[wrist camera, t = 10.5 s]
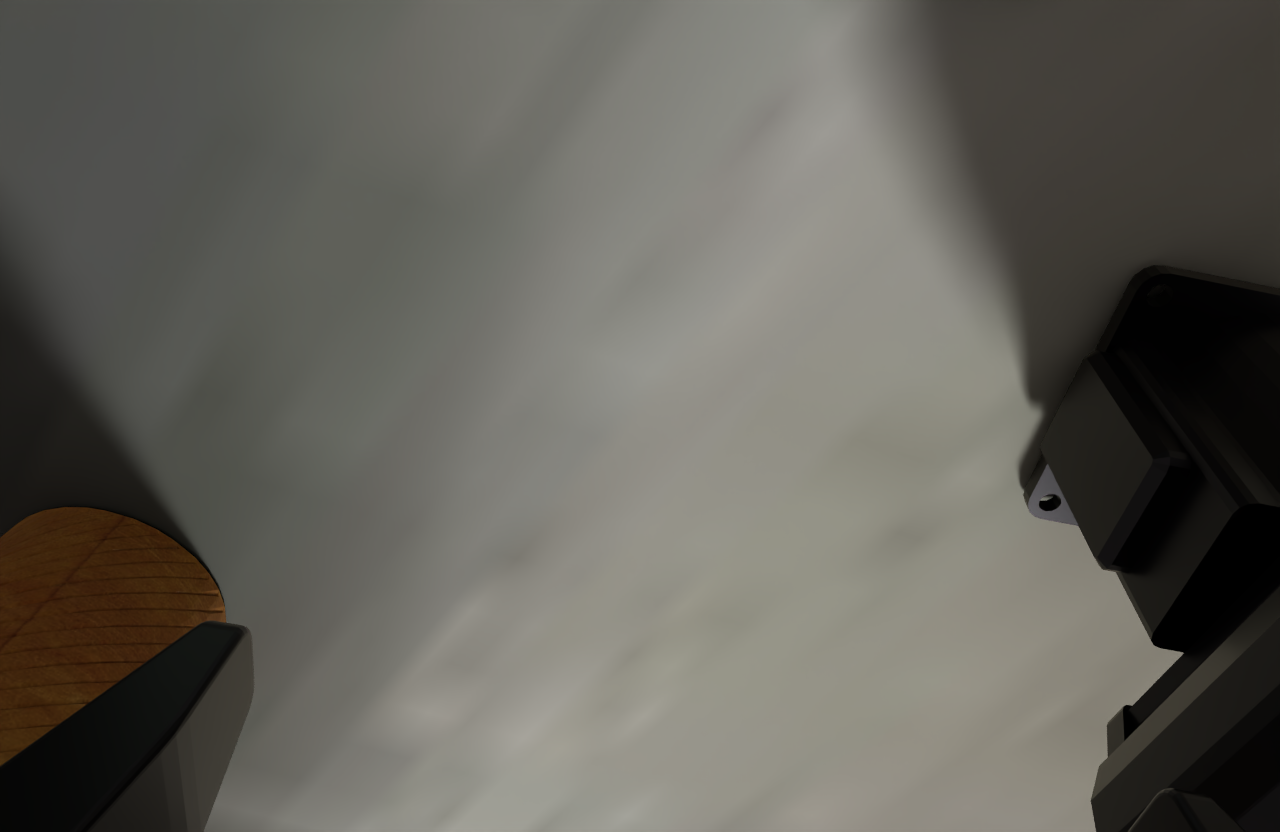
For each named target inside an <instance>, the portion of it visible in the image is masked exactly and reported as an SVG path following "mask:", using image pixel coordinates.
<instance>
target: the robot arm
mask: <svg viewBox="0 0 1280 832" xmlns="http://www.w3.org/2000/svg"><path fill="white" fill-rule="evenodd" d="M1162 284H1166V285H1165V289H1164V291H1163V292H1162V293H1161V294H1160V295H1159V296H1157V297H1155V298H1147V294H1148V292H1149V291H1150V290H1151V289H1152V288H1153V287H1155V286H1157V285H1162ZM1040 449H1041V452H1042V456H1041V458H1040V460H1039V462H1038V464H1037V466H1036V468H1035V470H1034V472H1033V474H1032V476H1031V478H1030V480H1029V482H1028V484H1027V486H1026V488H1025V490H1024V494H1023V496H1024V499H1025V502H1026V505H1027V507H1028V509H1029V511H1030V512H1031V513H1032V514H1033V515H1034V516H1035V517H1038V518H1040V519H1045V520H1050V521H1055V522H1061V523H1066V524H1071V525H1077V526H1079V528H1080V530H1081V532H1082V534H1083V536H1084V538H1085V540H1086V542H1087V544H1088V546H1089V548H1090V550H1091V552H1092V554H1093V556H1094V557H1095V559H1096V561H1097V563H1098V564H1099V566H1100V567H1101V568H1102V569H1103V570H1108V571H1114V572H1116V573H1117V575H1118V577H1119V579H1120V581H1121V583H1122V585H1123V587H1124V589H1125V591H1126V593H1127V595H1128V597H1129V599H1130V601H1131V602H1132V604H1133V606H1134V608H1135V610H1136V612H1137V614H1138V616H1139V618H1140V620H1141V622H1142V624H1143V626H1144V628H1145V630H1146V631H1147V633H1148V635H1149V637H1150V639H1151V641H1152V643H1153V645H1155V646H1157V647H1159V648H1163V649H1168V650H1174V651H1179V652H1183V653H1184V654H1183V655H1182V656H1181V657H1180V658H1179V659H1178V660H1177V661H1176V662H1175V663H1174V664H1173V665H1172V666H1171V667H1170V668H1169V669H1168V670H1167V671H1166V672H1165V673H1164V674H1163V675H1162V676H1161V677H1160V678H1159V679H1158V680H1157V681H1156V682H1155V683H1154V684H1153V686H1152V687H1151V688H1150V689H1149V690H1148V691H1147V692H1146V693H1145V694H1144V695H1143V696H1142V697H1141V698H1140V699H1139V700H1138V701H1137V702H1136V703H1135V704H1134V705H1133V706H1130V705H1126V706H1124V707H1123V708H1122V709H1121V710H1120V711H1119V712H1118V713H1117V714H1116V715H1115V716H1114V717H1113V718H1112V719H1111V720H1110V721H1109V722H1108V724H1107V744H1108V758H1107V759H1106V760H1105V761H1104V762H1103V763H1102V764H1101V765H1100V766H1099V769H1098V773H1097V777H1096V782H1095V786H1094V790H1093V794H1092V798H1091V804H1092V810H1093V816H1094V821H1095V827H1096V832H1280V289H1277V288H1272V287H1267V286H1262V285H1258V284H1253V283H1248V282H1243V281H1238V280H1233V279H1228V278H1223V277H1218V276H1213V275H1208V274H1203V273H1198V272H1193V271H1188V270H1183V269H1178V268H1173V267H1168V266H1151V267H1148V268H1145V269H1143V270H1142V271H1140V272H1139V273H1137V274H1136V275H1135V276H1134V277H1133V279H1132V280H1131V281H1130V283H1129V285H1128V287H1127V289H1126V291H1125V293H1124V295H1123V296H1122V298H1121V300H1120V302H1119V304H1118V306H1117V308H1116V310H1115V312H1114V314H1113V316H1112V318H1111V320H1110V322H1109V324H1108V326H1107V328H1106V330H1105V332H1104V334H1103V336H1102V338H1101V340H1100V342H1099V344H1098V346H1097V348H1096V350H1095V351H1094V352H1092V353H1091V354H1090V355H1088V356H1087V357H1085V358H1084V359H1083V361H1082V363H1081V365H1080V367H1079V369H1078V371H1077V373H1076V375H1075V377H1074V379H1073V381H1072V383H1071V385H1070V387H1069V389H1068V391H1067V393H1066V395H1065V397H1064V399H1063V401H1062V403H1061V405H1060V407H1059V409H1058V411H1057V413H1056V415H1055V417H1054V419H1053V421H1052V423H1051V425H1050V427H1049V429H1048V431H1047V433H1046V435H1045V437H1044V439H1043V441H1042V443H1041V445H1040ZM1048 494H1055V495H1054V497H1053V498H1051V499H1049V500H1047V501H1040V499H1041V498H1042V497H1043V496H1046V495H1048ZM253 693H254V666H253V646H252V635H251V632H250V630H249V629H248V628H247V627H244V626H242V625H236V624H231V623H225V622H219V621H205V622H203V623H200V624H199V625H197V626H195V627H194V628H193V629H191V630H190V631H188V632H187V633H186V634H184V635H183V636H182V637H180V638H179V639H177V640H176V641H175V642H173V643H172V644H170V645H169V646H168V647H166V648H165V649H163V650H162V651H161V652H159V653H158V654H156V655H155V656H154V657H152V658H151V659H149V660H148V661H147V662H145V663H144V664H142V665H141V666H140V667H138V668H137V669H135V670H134V671H133V672H131V673H130V674H128V675H127V676H126V677H124V678H123V679H121V680H120V681H119V682H117V683H116V684H114V685H113V686H112V687H110V688H109V689H107V690H106V691H105V692H103V693H102V694H100V695H99V696H98V697H96V698H95V699H93V700H92V701H91V702H89V703H88V704H86V705H85V706H84V707H82V708H81V709H79V710H78V711H77V712H75V713H74V714H72V715H71V716H70V717H68V718H67V719H65V720H64V721H63V722H61V723H60V724H58V725H57V726H56V727H54V728H53V729H51V730H50V731H49V732H47V733H46V734H44V735H43V736H42V737H40V738H39V739H37V740H36V741H35V742H33V743H32V744H30V745H29V746H28V747H26V748H25V749H23V750H22V751H21V752H19V753H18V754H16V755H15V756H14V757H12V758H11V759H9V760H8V761H7V762H5V763H4V764H3V765H1V766H0V832H203V831H204V829H205V826H206V823H207V821H208V818H209V815H210V813H211V810H212V808H213V805H214V802H215V800H216V797H217V794H218V792H219V789H220V786H221V784H222V781H223V778H224V776H225V773H226V770H227V768H228V765H229V762H230V760H231V757H232V754H233V752H234V749H235V746H236V744H237V741H238V738H239V736H240V733H241V730H242V728H243V725H244V722H245V720H246V717H247V714H248V712H249V709H250V706H251V702H252V698H253Z"/></svg>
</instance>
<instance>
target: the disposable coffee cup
mask: <svg viewBox="0 0 1280 832" xmlns="http://www.w3.org/2000/svg"><path fill="white" fill-rule="evenodd" d="M205 621H219V622H225V623H226V616H225V606H224V603H223V600H222V597H221V594H220V592H219V589H218V587H217V586H216V584H215V583H214V581H213V579H212V578H211V576H210V574H209V573H208V572H207V570H206V569H205V568H204V567H203V566H202V565H201V564H200V563H199V561H198V560H197V559H196V558H195V557H194V556H193V555H192V554H190V553H189V552H188V551H187V550H185V549H184V548H183V547H182V546H180V545H179V544H178V543H177V542H175V541H174V540H173V539H171V538H170V537H168V536H167V535H165V534H163V533H162V532H160V531H159V530H157V529H155V528H153V527H151V526H148V525H146V524H144V523H142V522H140V521H138V520H135V519H133V518H129V517H126V516H123V515H119V514H116V513H112V512H109V511H105V510H99V509H93V508H87V507H62V508H55V509H49V510H43V511H41V512H38V513H36V514H33V515H30V516H28V517H26V518H25V519H23V520H22V521H21V522H19V523H18V524H16V525H15V526H14V527H13V528H11V529H10V530H9V531H8V532H7V533H5V534H4V535H3V536H2V537H0V766H1V765H3V764H4V763H5V762H7V761H8V760H9V759H11V758H12V757H14V756H15V755H16V754H18V753H19V752H21V751H22V750H23V749H25V748H26V747H28V746H29V745H30V744H32V743H33V742H35V741H36V740H37V739H39V738H40V737H42V736H43V735H44V734H46V733H47V732H49V731H50V730H51V729H53V728H54V727H56V726H57V725H58V724H60V723H61V722H63V721H64V720H65V719H67V718H68V717H70V716H71V715H72V714H74V713H75V712H77V711H78V710H79V709H81V708H82V707H84V706H85V705H86V704H88V703H89V702H91V701H92V700H93V699H95V698H96V697H98V696H99V695H100V694H102V693H103V692H105V691H106V690H107V689H109V688H110V687H112V686H113V685H114V684H116V683H117V682H119V681H120V680H121V679H123V678H124V677H126V676H127V675H128V674H130V673H131V672H133V671H134V670H135V669H137V668H138V667H140V666H141V665H142V664H144V663H145V662H147V661H148V660H149V659H151V658H152V657H154V656H155V655H156V654H158V653H159V652H161V651H162V650H163V649H165V648H166V647H168V646H169V645H170V644H172V643H173V642H175V641H176V640H177V639H179V638H180V637H182V636H183V635H184V634H186V633H187V632H188V631H190V630H191V629H193V628H194V627H195V626H197V625H199V624H200V623H203V622H205Z"/></svg>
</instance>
